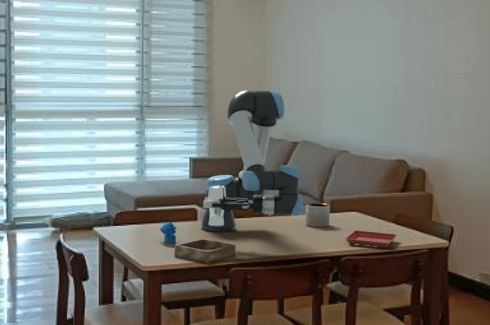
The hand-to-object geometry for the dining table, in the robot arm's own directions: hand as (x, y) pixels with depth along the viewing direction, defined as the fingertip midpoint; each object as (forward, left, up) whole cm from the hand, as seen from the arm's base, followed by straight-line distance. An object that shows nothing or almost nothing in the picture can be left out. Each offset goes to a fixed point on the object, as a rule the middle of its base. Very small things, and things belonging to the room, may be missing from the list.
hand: (204, 202), depth 296 cm
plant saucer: (+46, +53, -18) cm, 72 cm away
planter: (+9, +71, -18) cm, 74 cm away
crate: (+11, -12, -17) cm, 24 cm away
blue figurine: (-15, -3, -18) cm, 23 cm away
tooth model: (+4, +3, -9) cm, 10 cm away
